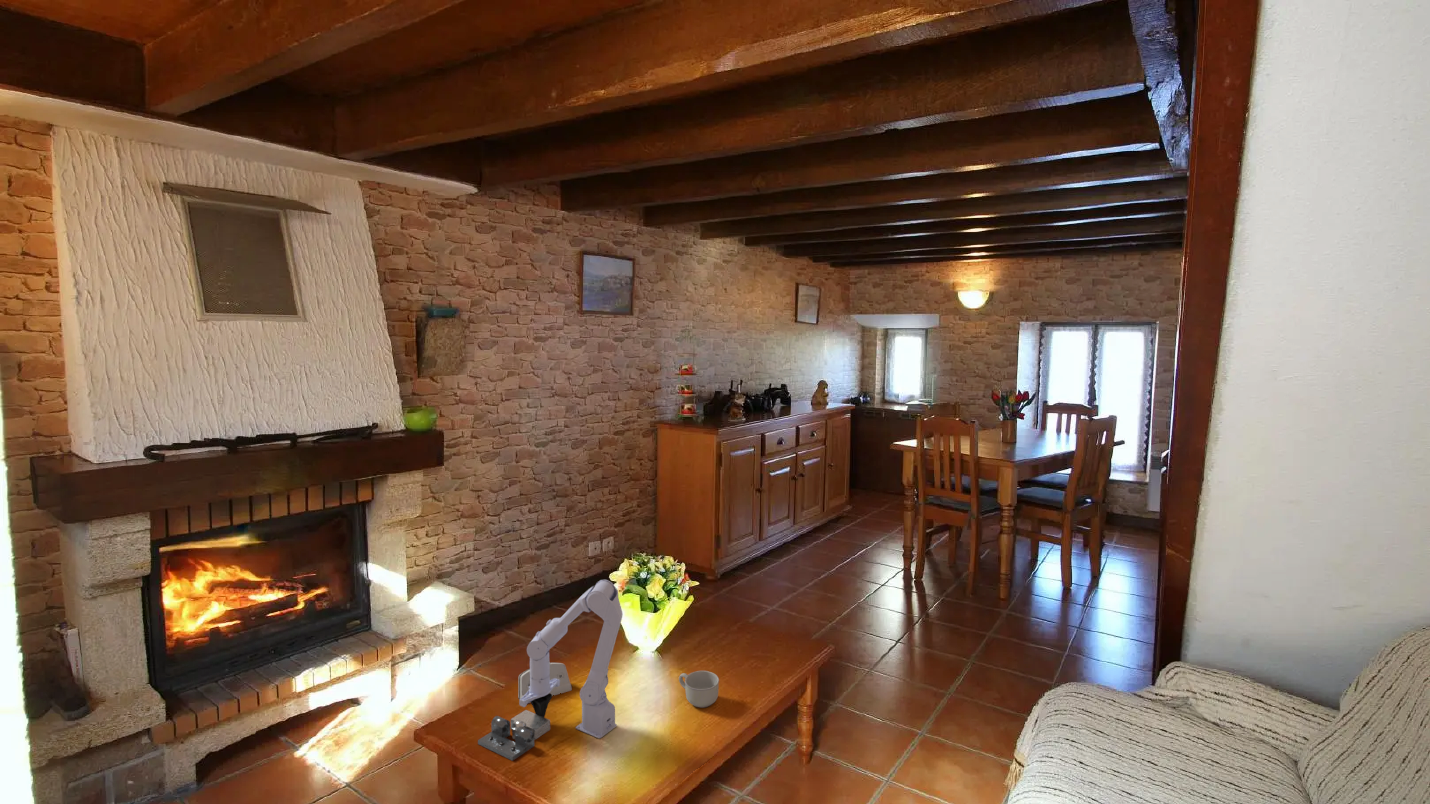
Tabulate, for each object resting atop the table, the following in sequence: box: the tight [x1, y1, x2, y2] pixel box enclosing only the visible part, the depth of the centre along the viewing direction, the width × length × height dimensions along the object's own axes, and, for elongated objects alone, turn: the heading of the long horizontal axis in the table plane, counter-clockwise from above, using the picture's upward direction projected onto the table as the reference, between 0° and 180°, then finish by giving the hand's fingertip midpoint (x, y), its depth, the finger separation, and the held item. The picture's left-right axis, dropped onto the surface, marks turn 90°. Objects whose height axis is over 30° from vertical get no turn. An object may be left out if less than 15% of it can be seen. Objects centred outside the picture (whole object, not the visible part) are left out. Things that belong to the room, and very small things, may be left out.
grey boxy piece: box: [510, 709, 551, 740], centre depth 206 cm, size 10×9×5 cm
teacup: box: [678, 670, 720, 709], centre depth 224 cm, size 14×11×8 cm
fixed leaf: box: [477, 715, 535, 762], centre depth 199 cm, size 14×8×5 cm, turn 59°
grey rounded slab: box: [517, 662, 573, 704], centre depth 228 cm, size 17×5×10 cm, turn 124°
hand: (540, 718), depth 211 cm, fingers closed
